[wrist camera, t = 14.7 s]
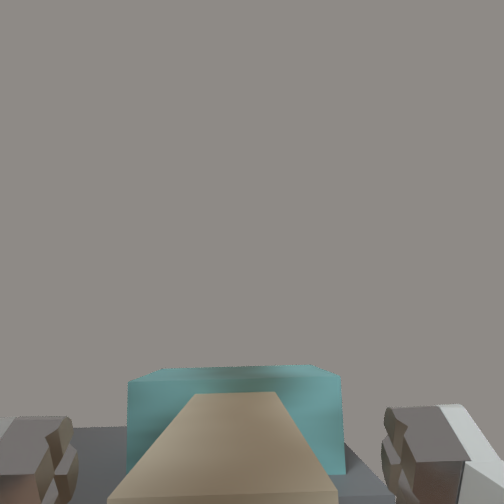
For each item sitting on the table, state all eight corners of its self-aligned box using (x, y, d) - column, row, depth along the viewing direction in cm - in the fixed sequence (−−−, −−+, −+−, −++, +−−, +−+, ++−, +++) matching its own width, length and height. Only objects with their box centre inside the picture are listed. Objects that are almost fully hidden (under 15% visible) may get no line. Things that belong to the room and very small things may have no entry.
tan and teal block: (-116, 781, 6) (-87, 464, 6) (161, 437, 25) (162, 368, 26) (557, 749, 6) (520, 444, 6) (313, 432, 26) (310, 364, 26)
